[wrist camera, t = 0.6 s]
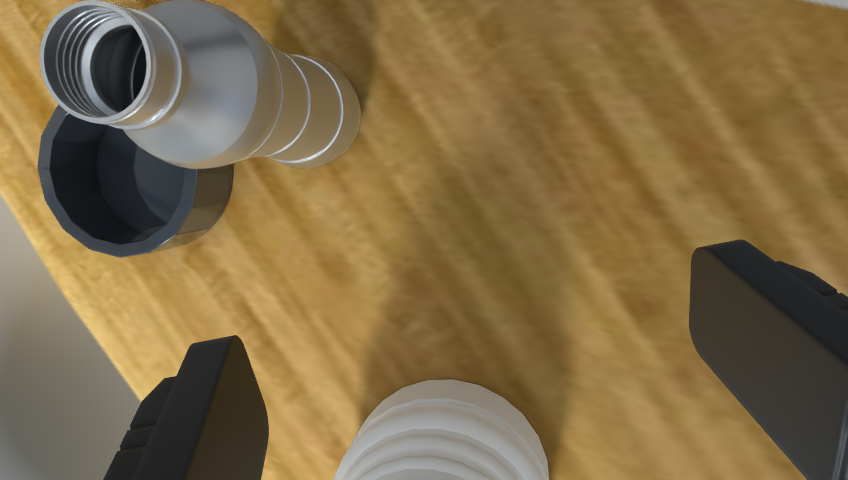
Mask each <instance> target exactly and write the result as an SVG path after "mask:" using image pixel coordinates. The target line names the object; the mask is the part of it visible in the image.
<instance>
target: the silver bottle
mask: <svg viewBox="0 0 848 480" xmlns="http://www.w3.org/2000/svg"><path fill="white" fill-rule="evenodd" d="M40 65H41V72H42V76H43V79H44V82H45V84H46V86H47V88H48V90H49V92H50V94H51V95H52V97H53V98H54V99H55V101H56V102H57V103H58V104H59V105H60V106H61V107H62V108H63V109H64V110H66V111H67V112H69V113H70V114H72V115H73V116H75V117H78V118H80V119H83V120H85V121H88V122H92V123H98V124H107V125H109V126H112V127H115V128H120V129H123V130H124V132H125V133H126V134H127V136H128V137H129V138H130V139H131V140H133V141H134V142H135V143H136V144H137V145H138V146H139V147H141V148H142V149H144V150H145V151H147V152H149V153H150V154H152V155H154V156H155V157H157V158H159V159H161V160H163V161H165V162H168V163H170V164H173V165H176V166H179V167H185V168H190V169H206V168H214V167H221V166H225V165H229V164H233V163H235V162H239V161H242V160H245V159H248V158H253V157H267V158H271V159H272V160H274V161H277V162H279V163H282V164H285V165H288V166H291V167H296V168H315V167H319V166H323V165H325V164H327V163H330V162H332V161H334V160H335V159H337V158H338V157H340V156H341V155H342V154H344V153H345V152H346V151H347V150H348V148H349V147H350V146H351V145H352V143H353V142H354V140H355V138H356V137H357V134H358V131H359V128H360V121H361V109H360V104H359V100H358V96H357V94H356V92H355V90H354V88H353V86H352V85H351V83H350V82H349V81H348V79H347V78H346V77H345V75H344V74H343V73H342V72H341V71H340V70H339V69H338V68H336V67H335V66H334V65H332V64H331V63H329V62H327V61H325V60H323V59H320V58H317V57H313V56H307V55H299V54H287V53H283V52H281V51H280V50H278V49H277V48H275V47H273V46H272V45H271V44H270V43H269V42H268V41H267V40H266V39H265V38H264V37H263V36H262V35H260V34H259V32H257V31H256V30H255V29H254V28H253V27H252V26H251V25H250V24H249V23H248V22H246V21H245V20H243V19H242V18H240V17H239V16H238V15H236V14H234V13H233V12H231V11H229V10H228V9H226V8H224V7H222V6H219V5H216V4H213V3H211V2H207V1H199V0H174V1H164V2H161V3H157V4H154V5H151V6H149V7H147V8H145V9H143V10H142V11H139V10H136V9H130V8H123V7H121V6H118V5H115V4H112V3H110V2H103V1H95V0H89V1H81V2H78V3H75V4H72V5H70V6H68V7H66V8H65V9H63V10H62V11H61V12H59V13H58V14H57V15H56V16H55V17H54V18H53V20H52V21H51V23H50V24H49V25H48V27H47V29H46V31H45V34H44V36H43V39H42V43H41V48H40Z"/></svg>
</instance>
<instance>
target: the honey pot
mask: <svg viewBox="0 0 848 480" xmlns="http://www.w3.org/2000/svg"><path fill="white" fill-rule="evenodd" d="M334 480H549V472H548V461H547V458H546V455H545V453H544V450H543V447H542V444H541V442H540V439H539V436H538V435H537V433H536V432H535V431H534V429H533V428H532V426H531V425H530V423H529V422H528V421H527V419H526V418H525V416H524V415H523V414H522V413H521V412H520V411H519V410H517V409H516V408H515V407H514V406H513V405H512V404H510V403H509V402H508V401H507V400H506V399H505V398H503V397H502V396H500V395H498V394H496V393H494V392H492V391H490V390H488V389H486V388H484V387H482V386H480V385H477V384H472V383H467V382H463V381H458V380H454V379H446V380H426V381H422V382H419V383H416V384H413V385H409V386H406V387H403V388H401V389H400V390H398V391H396V392H395V393H393V394H392V395H390V396H389V397H387V398H386V399H384V400H382V401H381V403H380V404H379V405H378V406H377V407H376V408H375V409H374V411H373V412H372V413H371V414H370V415H369V416H368V417H367V418H366V420H365V422H364V423H363V425H362V427H361V428H360V430H359V431H358V433H357V435H356V436H355V438H354V440H353V441H352V444H351V445H350V446H349V449H348V451H347V452H346V453H345V455H344V457H343V459H342V461H341V463H340V465H339V468H338V470H337V472H336V474H335V476H334Z"/></svg>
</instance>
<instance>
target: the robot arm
mask: <svg viewBox="0 0 848 480" xmlns="http://www.w3.org/2000/svg"><path fill="white" fill-rule="evenodd" d="M689 328H690V334H691V338H692V341H693V344H694V346H695V348H696V350H697V352H698V354H699V355H700V357H701V358H702V359H703V360H704V362H705V363H706V364H707V365H708V366H709V367H710V368H711V370H712V371H713V372H714V373H715V374H716V375H717V377H718V378H719V379H720V380H721V381H722V382H723V383H724V385H725V386H726V387H727V388H728V389H729V390H730V392H731V393H732V394H733V395H734V396H735V397H736V398H737V400H738V401H739V402H740V403H741V404H742V405H743V406H744V408H745V409H746V410H747V411H748V412H749V413H750V415H751V416H752V417H753V418H754V419H755V420H756V421H757V423H758V424H759V425H760V426H761V427H762V428H763V429H764V431H765V432H766V433H767V434H768V435H769V436H770V438H771V439H772V440H773V441H774V442H775V443H776V444H777V446H778V447H779V448H780V449H781V450H782V451H783V452H784V454H785V455H786V456H787V457H788V458H789V459H790V461H791V462H792V463H793V464H794V465H795V466H796V467H797V469H798V470H799V471H800V472H801V473H802V474H803V475H804V477H805V478H806V479H807V480H848V297H847V296H845V295H844V294H842V293H839V294H838V293H837V289H835V288H834V287H832V286H831V285H829V284H828V283H826V282H825V281H823V280H822V279H820V278H819V277H818V276H816V275H815V274H813V273H811V272H808V271H806V270H803V269H800V268H798V267H795V266H792V265H789V264H787V263H784V262H781V261H777V262H775V261H774V260H772V259H771V258H769V257H768V256H767V255H765V254H764V253H762V252H761V251H760V250H758V249H757V248H755V247H754V246H753V245H751V244H750V243H748V242H747V241H745V240H735V241H730V242H725V243H719V244H714V245H709V246H704V247H699V248H697V249H696V250H695V251H694V253H693V255H692V261H691V284H690V310H689ZM130 428H131V429H130V430H128V431H127V433H126V435H125V437H124V439H123V441H122V443H121V445H120V449H121V450H120V451H118V452H117V453H116V455H115V457H114V459H113V461H112V463H111V465H110V467H109V469H108V471H107V473H106V476H105V477H104V479H103V480H261V476H262V471H263V466H264V460H265V455H266V450H267V444H268V437H269V425H268V416H267V411H266V407H265V403H264V400H263V398H262V395H261V392H260V389H259V386H258V384H257V381H256V378H255V375H254V372H253V369H252V367H251V364H250V361H249V358H248V355H247V352H246V350H245V347H244V344H243V342H242V341H241V339H240V338H239V337H238V336H236V335H234V336H229V337H224V338H219V339H213V340H208V341H203V342H198V343H193V344H192V345H191V346H190V347H189V349H188V351H187V353H186V356H185V358H184V360H183V363H182V365H181V367H180V369H179V372H178V374H177V376H175V377H169V378H164V379H163V380H162V381H161V382H160V383H159V384H158V385H157V386H156V387H155V389H154V390H153V391H152V392H151V393H150V394H149V395H148V396H147V397H146V398H145V399H144V400H143V401H142V402H141V404H140V406H139V408H138V411H137V412H136V414H135V416H134V419H133V421H132V423H131V425H130Z"/></svg>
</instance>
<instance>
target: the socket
mask: <svg viewBox="0 0 848 480" xmlns="http://www.w3.org/2000/svg"><path fill="white" fill-rule="evenodd" d="M38 173H39V177H40V181H41V185H42V190H43V194H44V198H45V201H46V203H47V205H48V206H49V208H50V209H51V211H52V212H53V214H54V216H55V217H56V219H57V220H58V222H59V223H60V225H61V227H62V228H63V229H64V230H65V231H66V232H67V233H69V234H70V235H71V236H72V237H74V238H75V239H76V240H78V241H79V242H80V243H82V244H83V245H84V246H86V247H87V248H88V249H90V250H93V251H97V252H101V253H104V254H108V255H112V256H116V257H121V258H122V257H128V256H134V255H140V254H146V253H152V252H156V251H160V250H164V249H168V248H173V247H177V246H181V245H185V244H187V243H189V242H191V241H193V240H195V239H197V238H198V237H200V236H202V235H203V234H204V233H206V232H207V231H208V230H209V229H210V228H211V227H212V226H213V225H214V224H215V223H216V222H217V220H218V219H219V218H220V216H221V215H222V213H223V211H224V209H225V207H226V205H227V202H228V200H229V197H230V193H231V189H232V181H233V165H232V164H229V165H225V166H221V167H214V168H206V169H190V168H185V167H179V166H176V165H173V164H170V163H168V162H165V161H163V160H161V159H159V158H157V157H155V156H154V155H152V154H150V153H149V152H147V151H145V150H144V149H142V148H141V147H139V146H138V145H137V144H136V143H135V142H134V141H133V140H131V139H130V138H129V137H128V136H127V134H126V133H125V132H124V130H123V129H120V128H115V127H112V126H109V125H107V124H98V123H92V122H88V121H85V120H83V119H80V118H78V117H75V116H73V115H72V114H70V113H69V112H67V111H66V110H64V109H63V108H62V107H61V106H60V105H58V107H56V109H55V111H54V113H53V115H52V117H51V118H50V120H49V122H48V124H47V126H46V128H45V130H44V132H43V133H42V135H41V142H40V151H39V159H38Z"/></svg>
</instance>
